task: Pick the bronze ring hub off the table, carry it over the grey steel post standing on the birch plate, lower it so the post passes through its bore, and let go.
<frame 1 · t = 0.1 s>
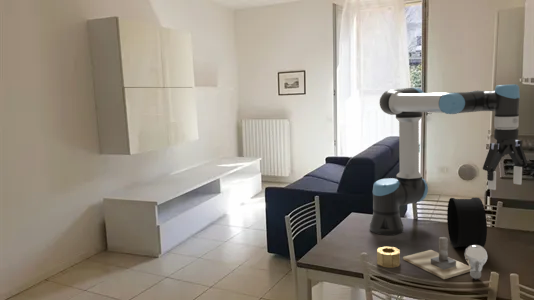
hand: (504, 186, 153), 28 cm above the table, fingers open, 13 cm apart
car wheel rim: (465, 246, 172), on the table
hub: (388, 263, 159), on the table
shaft stand: (436, 264, 156), on the table
light bulb: (475, 279, 143), on the table
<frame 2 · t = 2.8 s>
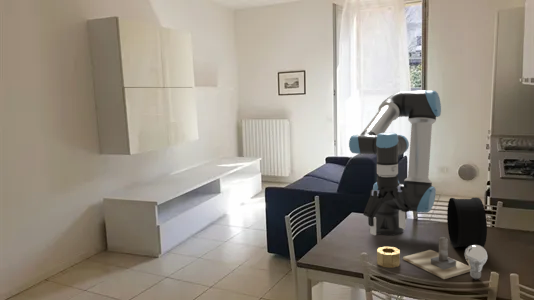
hand: (387, 231, 157), 13 cm above the table, fingers open, 13 cm apart
nothing on the table moved.
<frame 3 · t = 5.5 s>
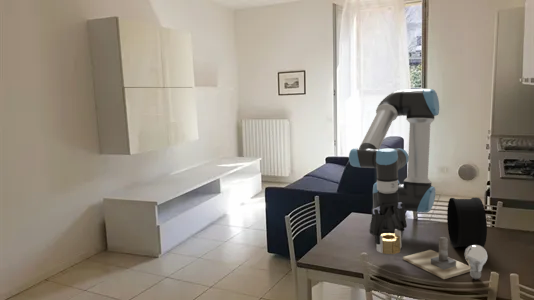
hand: (389, 248, 159), 5 cm above the table, fingers closed on hub, 8 cm apart
hub: (389, 249, 159), point 5 cm above the table, touching gripper
everything else where it was.
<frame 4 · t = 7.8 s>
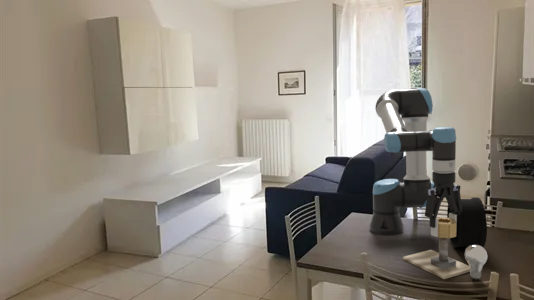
hand: (443, 233, 151), 13 cm above the table, fingers closed on hub, 8 cm apart
hub: (443, 234, 151), point 13 cm above the table, touching gripper
everything else where it was.
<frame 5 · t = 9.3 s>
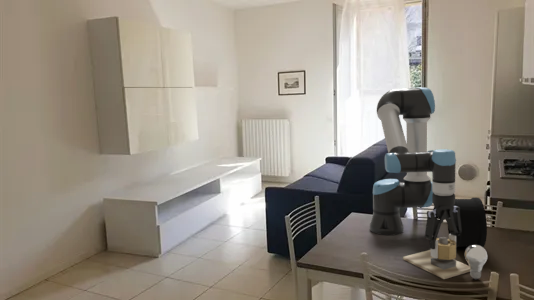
hand: (443, 254, 152), 5 cm above the table, fingers closed on hub, 8 cm apart
hub: (443, 255, 152), point 5 cm above the table, touching gripper
everything else where it was.
when the fingers open (3 cm above the table, at t = 10.1 s): hub stays where it is, resting on shaft stand.
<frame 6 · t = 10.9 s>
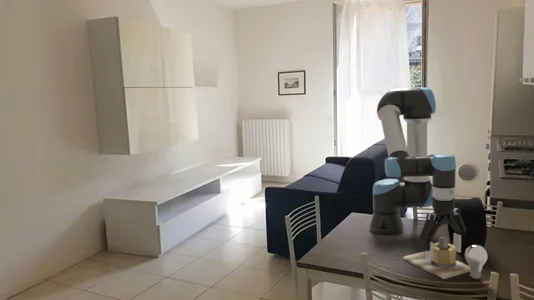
hand: (443, 255, 152), 5 cm above the table, fingers open, 13 cm apart
hub: (443, 259, 153), point 3 cm above the table, touching shaft stand
everything else where it was.
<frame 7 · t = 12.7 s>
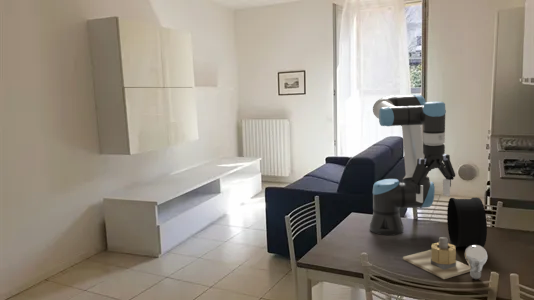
hand: (433, 198, 160), 23 cm above the table, fingers open, 13 cm apart
nothing on the table moved.
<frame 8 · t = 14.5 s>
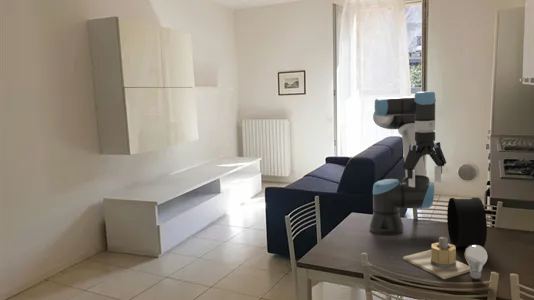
hand: (425, 184, 168), 27 cm above the table, fingers open, 13 cm apart
nothing on the table moved.
at the end: hub 0.0 cm from the target spot on the shaft stand, point 3.0 cm above the shaft stand's base; hub tilted 0°; the gripper is holding nothing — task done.
